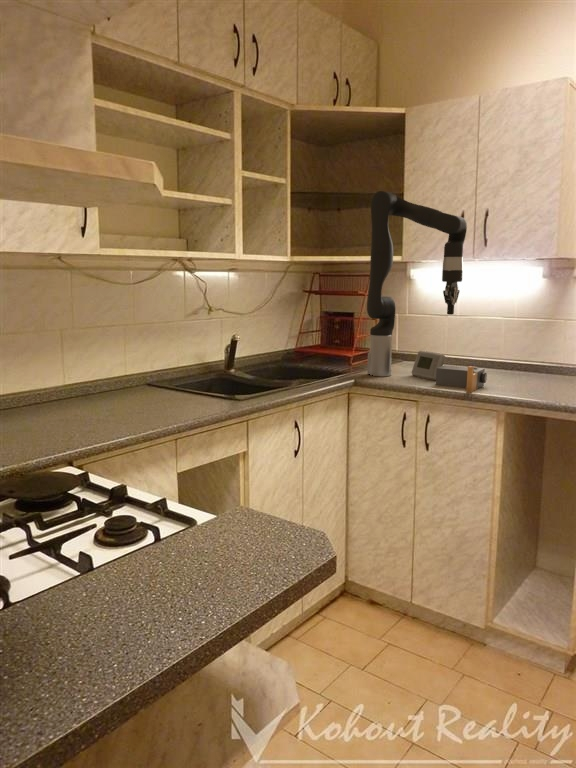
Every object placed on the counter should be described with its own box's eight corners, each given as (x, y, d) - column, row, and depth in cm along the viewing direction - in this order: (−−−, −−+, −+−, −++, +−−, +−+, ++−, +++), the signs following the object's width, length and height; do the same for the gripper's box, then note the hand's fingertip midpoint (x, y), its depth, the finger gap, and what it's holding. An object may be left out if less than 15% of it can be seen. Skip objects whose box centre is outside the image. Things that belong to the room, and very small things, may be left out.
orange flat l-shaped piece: (471, 393, 218) (472, 367, 216) (465, 392, 219) (467, 366, 217) (478, 388, 226) (479, 363, 225) (472, 388, 227) (474, 363, 226)
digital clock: (409, 375, 258) (410, 350, 257) (428, 374, 261) (429, 350, 259) (427, 381, 243) (429, 355, 241) (448, 380, 245) (449, 354, 243)
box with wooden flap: (435, 384, 235) (436, 366, 234) (443, 381, 243) (444, 363, 241) (481, 389, 226) (482, 370, 225) (487, 385, 233) (488, 367, 232)
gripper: (448, 269, 240) (446, 313, 243) (437, 269, 229) (435, 314, 232) (467, 269, 236) (465, 313, 239) (456, 269, 225) (454, 315, 228)
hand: (450, 314), depth 236 cm, fingers closed
